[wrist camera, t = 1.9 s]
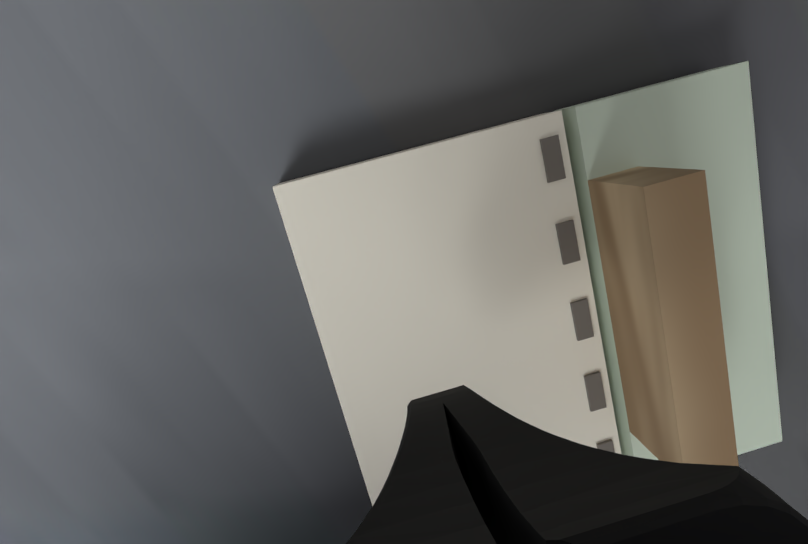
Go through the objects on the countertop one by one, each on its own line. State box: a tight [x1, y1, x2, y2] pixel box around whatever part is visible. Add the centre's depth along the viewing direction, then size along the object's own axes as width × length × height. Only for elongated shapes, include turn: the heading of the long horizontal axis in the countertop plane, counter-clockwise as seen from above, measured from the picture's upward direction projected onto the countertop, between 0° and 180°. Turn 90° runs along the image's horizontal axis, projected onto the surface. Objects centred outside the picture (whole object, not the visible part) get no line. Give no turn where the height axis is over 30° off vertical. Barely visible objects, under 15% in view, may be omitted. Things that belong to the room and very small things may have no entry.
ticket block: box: [273, 110, 621, 506], centre depth 16 cm, size 8×12×2 cm, turn 14°
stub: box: [553, 61, 782, 467], centre depth 15 cm, size 5×12×4 cm, turn 14°
